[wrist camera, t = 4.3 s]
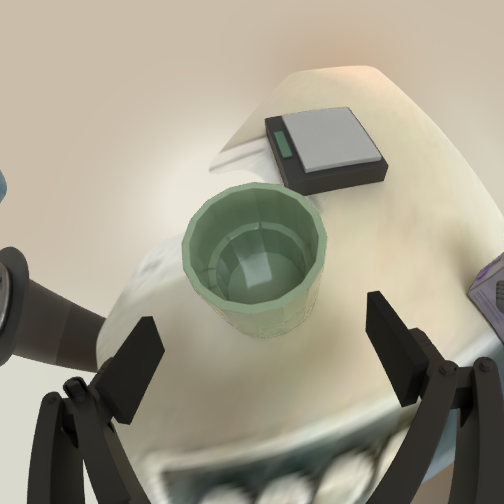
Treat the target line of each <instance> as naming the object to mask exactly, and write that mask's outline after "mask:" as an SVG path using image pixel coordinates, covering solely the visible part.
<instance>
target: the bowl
mask: <svg viewBox="0 0 504 504" xmlns="http://www.w3.org/2000/svg"><path fill="white" fill-rule="evenodd" d="M326 246H327V234H326V231H325V228H324V225H323V222H322V220H321V217H320V214H319V212H318V211H317V210H316V209H315V208H314V207H313V206H312V205H311V204H310V203H309V202H308V201H307V200H306V199H305V198H304V197H303V196H302V195H301V194H299V193H297V192H294V191H292V190H290V189H288V188H286V187H283V186H281V185H279V184H269V183H257V182H254V183H248V184H244V185H239V186H235V187H231V188H229V189H226V190H225V191H223V192H221V193H219V194H217V195H216V196H214V197H212V198H211V199H209V200H208V201H206V202H205V203H204V204H203V206H202V207H201V208H200V209H199V210H198V211H197V213H196V214H195V215H194V216H193V217H192V218H191V220H190V222H189V224H188V227H187V230H186V233H185V235H184V238H183V241H182V260H183V269H184V271H185V273H186V275H187V277H188V279H189V280H190V282H191V284H192V286H193V288H194V289H195V291H196V292H197V293H198V294H199V295H200V296H201V297H202V298H203V299H204V300H205V301H206V302H207V303H208V304H209V305H210V306H211V307H212V308H213V309H214V310H215V311H216V312H217V313H218V314H220V315H221V316H222V317H223V318H224V319H225V320H226V321H227V322H228V323H229V324H231V325H232V326H234V327H235V328H237V329H238V330H240V331H241V332H242V333H244V334H248V335H253V336H258V337H263V338H265V337H271V336H276V335H281V334H285V333H287V332H289V331H290V330H292V329H293V328H295V327H296V326H297V325H299V324H300V323H302V322H303V321H304V320H305V318H306V317H307V315H308V313H309V312H310V310H311V309H312V307H313V306H314V303H315V300H316V296H317V292H318V288H319V284H320V280H321V276H322V272H323V267H324V263H325V255H326Z"/></svg>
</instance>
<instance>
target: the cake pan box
mask: <svg viewBox="0 0 504 504" xmlns="http://www.w3.org/2000/svg"><path fill="white" fill-rule="evenodd" d="M467 296H468V297H469V298H470V299H471V300H472V301H473V302H474V303H475V304H476V305H477V307H478V308H479V309H480V310H481V312H482V313H483V314H484V315H485V317H486V318H487V319H488V320H489V322H490V323H491V324H492V326H493V327H494V328H495V330H496V331H497V332H496V333H497V335H498V336H499V338H500V339H501V341H502V342H503V343H504V252H503V253H502V254H501V255H500V256H498V257H497V258H496V259H495V260H493V261H492V262H491V263H490V264H488V265H487V266H486V267H484V268H483V269H482V270H481V271H480V272H479V274H478V276H477V277H476V279H475V281H474V283H473V284H472V286H471V288H470V290H469V292H468V294H467Z"/></svg>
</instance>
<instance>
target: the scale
mask: <svg viewBox="0 0 504 504" xmlns="http://www.w3.org/2000/svg"><path fill="white" fill-rule="evenodd" d="M265 125H266V132H267V136H268V139H269V141H270V144H271V147H272V150H273V153H274V155H275V158H276V161H277V164H278V167H279V170H280V173H281V176H282V179H283V181H284V184H285V187H286V188H288V189H290V190H292V191H294V192H297V193H299V194H301V195H302V196H306V195H311V194H316V193H321V192H326V191H331V190H336V189H341V188H347V187H352V186H357V185H363V184H369V183H374V182H380V181H384V178H385V175H386V172H387V169H388V164H387V162H386V161H385V159H384V158H383V156H382V154H381V153H380V151H379V150H378V148H377V147H376V145H375V144H374V142H373V141H372V139H371V138H370V136H369V135H368V134H367V132H366V131H365V129H364V128H363V126H362V125H361V124H360V122H359V121H358V120H357V118H356V117H355V116H354V114H353V113H352V112H351V110H350V109H349V108H348V107H338V108H328V109H320V110H312V111H305V112H298V113H292V114H286V115H282V116H276V117H271V118H266V119H265Z"/></svg>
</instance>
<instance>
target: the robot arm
mask: <svg viewBox="0 0 504 504" xmlns="http://www.w3.org/2000/svg"><path fill="white" fill-rule="evenodd" d="M6 191H7V185H6V181H5V178H4V177H3V174H2V172H1V171H0V203H1V201H2V200H3V198H4V197H5V195H6ZM12 296H13V280H12V275H11V272H10V270H9V268H8V267H7V266H5V265H4V264H2V263H0V336H1V335H2V333H3V331H4V329H5V326H6V324H7V321H8V317H9V314H10V309H11V304H12ZM365 331H366V333H367V335H368V337H369V339H370V341H371V343H372V345H373V347H374V349H375V351H376V353H377V355H378V357H379V359H380V361H381V363H382V365H383V367H384V369H385V372H386V374H387V376H388V378H389V380H390V382H391V384H392V387H393V389H394V391H395V393H396V395H397V398H398V400H399V402H400V404H401V407H405V406H409V405H412V404H415V403H416V402H417V399H418V396H420V398H421V400H422V401H421V403H420V406H419V408H418V411H417V413H416V415H415V417H414V420H413V422H412V424H411V426H410V428H409V431H408V433H407V435H406V437H405V439H404V441H403V443H402V445H401V447H400V448H399V450H398V452H397V454H396V456H395V458H394V460H393V461H392V463H391V465H390V467H389V468H388V470H387V472H386V473H385V475H384V477H383V478H382V480H381V481H380V483H379V485H378V486H377V488H376V489H375V491H374V492H373V494H372V495H371V497H370V498H369V500H368V501H367V502H366V504H410V503H411V501H412V499H413V498H414V496H415V494H416V492H417V490H418V488H419V486H420V484H421V482H422V480H423V478H424V476H425V474H426V472H427V470H428V467H429V465H430V463H431V461H432V458H433V456H434V453H435V451H436V449H437V446H438V443H439V441H440V438H441V435H442V433H443V430H444V427H445V424H446V421H447V418H448V415H449V411H450V409H457V434H456V450H455V461H454V471H453V478H452V484H451V490H450V496H449V501H448V504H504V400H503V394H502V388H501V383H500V378H499V373H498V368H497V365H496V363H495V361H493V360H492V359H491V358H488V357H479V358H478V359H476V360H475V362H474V364H473V366H470V367H458V365H457V364H456V363H454V362H452V361H449V360H444V358H443V357H442V355H441V354H440V353H439V351H438V350H437V349H436V347H435V346H434V345H433V344H432V342H431V341H430V339H429V338H428V337H427V335H426V334H425V333H424V332H423V331H421V330H420V329H418V328H413V329H409V330H408V329H407V327H406V326H405V324H404V323H403V322H402V320H401V319H400V318H399V316H398V315H397V313H396V312H395V311H394V309H393V308H392V307H391V305H390V304H389V303H388V301H387V300H386V299H385V298H384V296H383V295H382V294H381V292H380V291H374V292H368V293H367V314H366V330H365ZM164 352H165V349H164V347H163V344H162V341H161V339H160V336H159V333H158V331H157V328H156V325H155V322H154V319H153V317H152V316H148V317H142V318H141V319H140V320H139V322H138V323H137V325H136V326H135V327H134V329H133V330H132V332H131V333H130V334H129V336H128V337H127V339H126V340H125V341H124V343H123V344H122V346H121V347H120V349H119V350H118V351H117V353H116V354H115V356H114V357H110V358H109V359H108V360H107V361H105V362H104V364H103V365H102V366H101V368H100V369H99V371H98V372H97V374H96V375H95V377H94V378H93V380H92V381H91V382H90V384H89V385H88V386H87V385H86V383H85V382H84V380H83V378H81V377H72V378H71V379H69V380H67V381H66V382H65V383H64V385H63V390H64V391H65V393H66V394H67V396H68V397H69V398H62V397H61V396H60V394H59V393H58V392H50V393H48V394H46V395H45V396H44V398H43V399H42V402H41V407H40V410H39V415H38V419H37V424H36V429H35V435H34V440H33V446H32V452H31V460H30V468H29V478H28V491H27V504H85V494H84V477H83V459H84V463H85V466H86V470H87V473H88V476H89V479H90V482H91V485H92V488H93V490H94V493H95V496H96V499H97V501H98V504H151V502H150V501H149V499H148V497H147V495H146V494H145V492H144V490H143V488H142V486H141V484H140V483H139V481H138V479H137V477H136V475H135V473H134V471H133V469H132V467H131V465H130V462H129V460H128V458H127V456H126V454H125V451H124V449H123V447H122V445H121V442H120V440H119V437H118V435H117V432H116V430H115V427H114V425H113V423H112V422H111V419H112V417H113V416H114V418H115V419H116V420H117V422H118V423H122V424H128V425H130V424H131V422H132V419H133V417H134V415H135V413H136V411H137V409H138V406H139V404H140V402H141V400H142V398H143V396H144V394H145V391H146V389H147V387H148V385H149V383H150V381H151V379H152V377H153V375H154V372H155V370H156V368H157V366H158V364H159V362H160V360H161V358H162V356H163V354H164Z"/></svg>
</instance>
